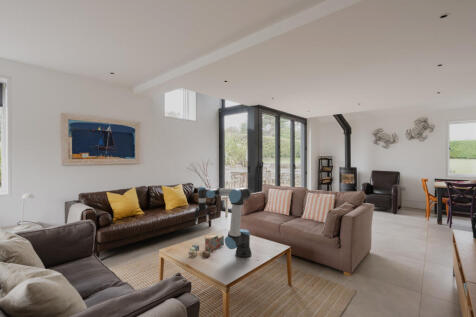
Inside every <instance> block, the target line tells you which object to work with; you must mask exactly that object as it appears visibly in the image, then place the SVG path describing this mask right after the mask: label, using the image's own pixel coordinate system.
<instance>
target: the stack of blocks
mask: <svg viewBox="0 0 476 317" xmlns="http://www.w3.org/2000/svg"><path fill="white" fill-rule="evenodd" d="M224 237H225V236H224V235H223V234H214V233H213V234H210V235H208V236H206V237H204V238H205V239H204V242H205V243H204V251H208V252H210V251H212V250H215V249H217V248H220V247H222V246H223V245H224V244H225V238H224Z"/></svg>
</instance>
